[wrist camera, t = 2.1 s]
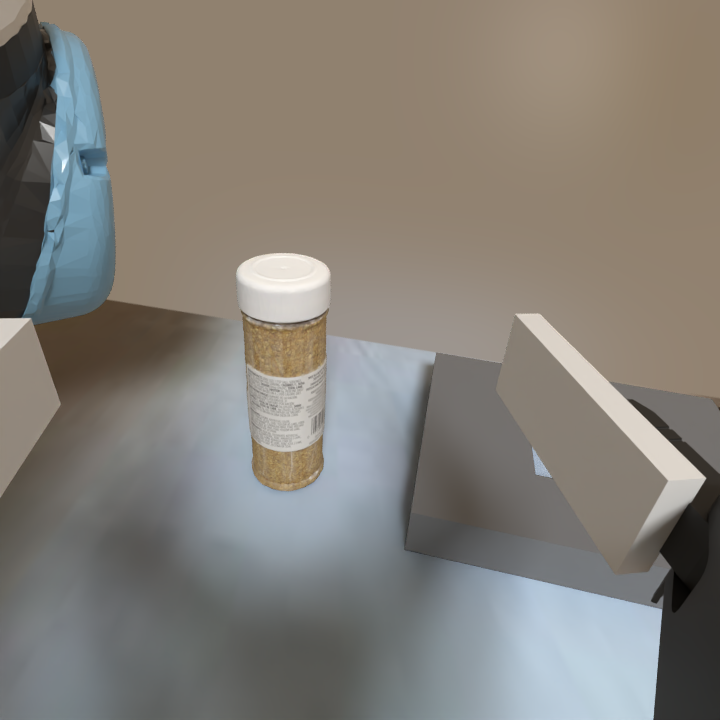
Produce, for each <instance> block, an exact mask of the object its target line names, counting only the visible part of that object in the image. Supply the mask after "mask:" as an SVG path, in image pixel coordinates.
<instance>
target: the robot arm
mask: <svg viewBox="0 0 720 720" xmlns="http://www.w3.org/2000/svg"><path fill="white" fill-rule="evenodd" d="M106 164H107V152H106V135H105V125H104V118H103V112H102V106H101V101H100V95H99V90H98V85H97V80H96V75H95V71H94V68H93V64H92V61H91V58H90V56H89V53H88V50H87V48H86V46H85V45H84V43H83V42H82V41H81V40H80V39H79V37H77V36H76V35H75V34H73V33H70V32H67V31H62V30H60V29H59V28H58V27H57V26H56V25H55V24H49V23H46V22H40V24H38V20H37V16H36V12H35V8H34V5H33V0H0V497H1V496H2V494H3V493H4V491H5V490H6V488H7V487H8V485H9V484H10V482H11V480H12V479H13V477H14V476H15V474H16V473H17V471H18V470H19V468H20V467H21V465H22V464H23V462H24V460H25V459H26V457H27V456H28V454H29V453H30V451H31V450H32V448H33V447H34V445H35V444H36V442H37V441H38V439H39V437H40V436H41V434H42V433H43V431H44V430H45V428H46V427H47V425H48V424H49V422H50V421H51V419H52V417H53V416H54V414H55V413H56V411H57V410H58V408H59V407H60V405H61V403H60V400H59V397H58V394H57V392H56V389H55V386H54V383H53V380H52V377H51V374H50V371H49V368H48V365H47V363H46V360H45V357H44V354H43V351H42V348H41V345H40V342H39V339H38V336H37V334H36V331H35V328H34V325H36V324H41V323H46V322H51V321H56V320H61V319H66V318H71V317H76V316H81V315H84V314H87V313H89V312H92V311H94V310H95V309H97V308H98V307H99V306H101V305H102V304H103V303H104V301H105V300H106V299H107V297H108V296H109V294H110V291H111V289H112V285H113V281H114V273H115V223H114V208H113V197H112V187H111V180H110V176H109V172H108V170H107V168H106ZM496 391H497V393H498V394H499V396H500V397H501V399H502V401H503V402H504V404H505V405H506V407H507V408H508V410H509V411H510V413H511V415H512V416H513V418H514V419H515V421H516V422H517V424H518V425H519V427H520V428H521V430H522V432H523V433H524V435H525V436H526V438H527V439H528V441H529V442H530V444H531V445H532V447H533V449H534V450H535V452H536V453H537V455H538V456H539V458H540V459H541V461H542V462H543V464H544V466H545V467H546V469H547V470H548V472H549V473H550V475H551V476H552V478H553V480H554V481H555V483H556V484H557V486H558V487H559V489H560V490H561V492H562V493H563V495H564V497H565V498H566V500H567V501H568V503H569V504H570V506H571V507H572V509H573V510H574V512H575V514H576V515H577V517H578V518H579V520H580V521H581V523H582V524H583V526H584V527H585V529H586V531H587V532H588V534H589V535H590V537H591V538H592V540H593V541H594V543H595V544H596V546H597V548H598V549H599V551H600V552H601V554H602V555H603V557H604V558H605V560H606V562H607V563H608V565H609V566H610V568H611V569H612V571H613V572H614V574H615V575H621V574H631V573H641V572H648V571H649V570H650V568H651V567H652V565H653V563H654V562H655V560H656V559H657V557H658V555H659V554H660V553H661V555H662V556H663V557H664V558H665V560H666V561H667V562H668V564H669V565H670V566H671V569H670V570H669V572H668V573H667V575H666V576H665V578H664V579H663V581H662V582H661V584H660V585H659V587H658V588H657V590H656V591H655V593H654V595H653V597H652V599H651V602H653V603H655V604H657V603H658V601H659V600H660V598H661V597H662V596H664V597H663V609H662V621H661V634H660V646H659V658H658V670H657V683H656V695H655V707H654V719H653V720H720V474H719V473H718V472H717V471H716V470H715V469H714V468H713V467H712V466H711V465H710V464H709V463H708V462H707V461H705V460H704V459H703V458H702V457H701V456H700V455H699V454H698V453H697V452H696V451H695V450H694V449H693V448H692V447H691V446H690V445H689V444H687V443H686V442H683V441H682V438H681V437H680V436H679V435H678V434H677V433H676V432H675V431H674V430H673V429H669V426H668V425H667V424H666V423H665V422H664V421H663V420H662V419H661V418H660V417H659V416H658V415H657V414H656V413H655V412H654V411H652V410H650V409H648V408H647V407H645V406H643V405H642V404H640V403H638V402H637V401H635V400H633V399H625V398H624V397H623V396H622V395H621V394H620V393H619V392H618V391H617V390H616V389H615V388H614V387H613V386H612V385H611V384H610V383H609V382H608V381H607V380H606V379H605V378H604V377H603V376H602V375H601V374H600V373H599V372H598V371H597V370H596V369H595V368H594V367H593V366H592V365H591V364H590V363H589V362H588V361H587V360H586V359H585V358H583V356H582V355H581V354H580V353H579V352H578V351H577V350H576V349H575V348H574V347H573V346H571V344H570V343H568V342H567V341H566V340H565V339H564V338H563V337H562V336H561V335H560V334H559V333H558V332H557V331H556V330H555V329H554V328H553V327H552V326H551V325H550V324H549V323H548V322H547V321H546V320H545V319H544V318H543V317H542V316H541V315H540V314H515V316H514V320H513V324H512V328H511V332H510V336H509V340H508V344H507V347H506V352H505V355H504V359H503V363H502V367H501V371H500V375H499V379H498V382H497V386H496Z"/></svg>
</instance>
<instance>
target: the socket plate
mask: <svg viewBox="0 0 720 720" xmlns="http://www.w3.org/2000/svg"><path fill="white" fill-rule="evenodd" d="M501 367H502V364H501V363H495V362H489V361H483V360H477V359H471V358H465V357H459V356H454V355H448V354H442V353H436V357H435V363H434V368H433V374H432V379H431V385H430V391H429V397H428V404H427V410H426V416H425V423H424V429H423V436H422V442H421V448H420V455H419V461H418V467H417V474H416V480H415V486H414V493H413V499H412V506H411V512H410V518H409V525H408V531H407V537H406V544H405V550H409V551H413V552H417V553H422V554H426V555H430V556H435V557H439V558H443V559H448V560H452V561H456V562H461V563H465V564H469V565H474V566H478V567H482V568H487V569H491V570H495V571H500V572H504V573H508V574H513V575H517V576H522V577H526V578H530V579H535V580H539V581H543V582H548V583H552V584H556V585H561V586H565V587H569V588H574V589H578V590H582V591H587V592H591V593H595V594H600V595H604V596H608V597H613V598H617V599H621V600H626V601H630V602H634V603H639V604H643V605H647V606H652V607H656V608H660V609H663V597H664V596H662V597H661V598H660V600H659V601H658V603H657V604H655V603H653V602H651V599H652V597H653V595H654V593H655V591H656V590H657V588H658V587H659V585H660V584H661V582H662V581H663V579H664V578H665V576H666V575H667V573H668V572H669V570H670V569H671V566H670V565H669V564H668V562H667V561H666V560H665V558H664V557H663V556H662V555H661V553H660V554H659V555H658V557H657V559H656V560H655V562H654V563H653V565H652V567H651V568H650V570H649V571H648V572H641V573H631V574H621V575H615V574H614V572H613V571H612V569H611V568H610V566H609V565H608V563H607V562H606V560H605V558H604V557H603V555H602V554H601V552H600V551H599V549H598V548H597V546H596V544H595V543H594V541H593V540H592V538H591V537H590V535H589V534H588V532H587V531H586V529H585V527H584V526H583V524H582V523H581V521H580V520H579V518H578V517H577V515H576V514H575V512H574V510H573V509H572V507H571V506H570V504H569V503H568V501H567V500H566V498H565V497H564V495H563V493H562V492H561V490H560V489H559V487H558V486H557V484H556V483H555V481H554V480H553V478H549V477H544V476H539V475H535V467H534V460H533V452H532V445H531V444H530V442H529V441H528V439H527V438H526V436H525V435H524V433H523V432H522V430H521V428H520V427H519V425H518V424H517V422H516V421H515V419H514V418H513V416H512V415H511V413H510V411H509V410H508V408H507V407H506V405H505V404H504V402H503V401H502V399H501V397H500V396H499V394H498V393H497V391H496V386H497V382H498V379H499V375H500V371H501ZM609 383H610V384H611V385H612V386H613V387H614V388H615V389H616V390H617V391H618V392H619V393H620V394H621V395H622V396H623V397H624V398H625V399H633V400H635V401H637V402H638V403H640V404H642V405H643V406H645V407H647V408H648V409H650V410H652V411H654V412H655V413H656V414H657V415H658V416H659V417H660V418H661V419H662V420H663V421H664V422H665V423H666V424H667V425H668V426H669V429H673V430H674V431H675V432H676V433H677V434H678V435H679V436H680V437H681V438H682V441H683V442H686V443H687V444H689V445H690V446H691V447H692V448H693V449H694V450H695V451H696V452H697V453H698V454H699V455H700V456H701V457H702V458H703V459H704V460H705V461H707V462H708V463H709V464H710V465H711V466H712V467H713V468H714V469H715V470H716V471H717V472H718V473H719V474H720V410H719V409H718V407H717V406H716V405H715V403H714V402H713V400H712V399H709V398H703V397H697V396H691V395H685V394H679V393H673V392H667V391H661V390H655V389H649V388H643V387H637V386H631V385H626V384H620V383H614V382H609Z"/></svg>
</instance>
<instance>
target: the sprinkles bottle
mask: <svg viewBox="0 0 720 720" xmlns="http://www.w3.org/2000/svg"><path fill="white" fill-rule="evenodd" d="M236 288H237V299H238V300H237V301H238V306H239V308H240V310H241V313H242V315H243V330H244V342H245V356H246V357H245V361H246V373H247V401H248V414H249V426H250V432H251V438H252V448H253V449H252V450H253V458H252V469H253V472H254V475H255V476H256V477H257V479H258V480H259V481H260V482H261V483H262V484H263V485H265V486H268V487H270V488H272V489H276V490H279V491H293V490H297V489H300V488H303V487H306V486H307V485H309V484H311V483H312V482H314V481H315V480H316V479H317V478H318V476H319V475H320V472H321V471H322V469H323V462H324V458H323V454H322V444H323V443H322V441H323V438H322V436H323V430H324V419H325V394H326V360H327V355H326V316H327V314H328V311H329V306H330V299H331V275H330V271H329V269H328V267H327V266H326V265H325V264H324V263H322V262H321V261H319V260H317V259H315V258H312V257H309V256H305V255H300V254H291V253H275V254H266V255H260V256H256V257H253V258H251V259H248V260H246V261H245V262H243V263H242V264H241V265H240V266H239V267H238V269H237V272H236Z"/></svg>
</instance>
